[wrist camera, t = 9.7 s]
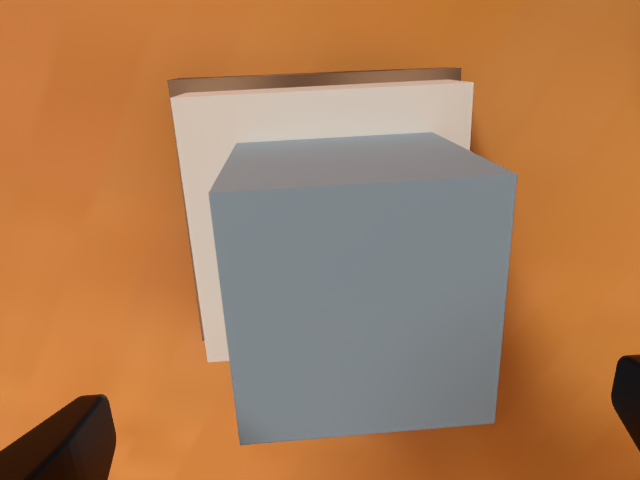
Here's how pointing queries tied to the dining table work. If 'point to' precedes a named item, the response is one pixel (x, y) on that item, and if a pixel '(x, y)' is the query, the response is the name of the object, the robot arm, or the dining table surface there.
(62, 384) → the dining table surface
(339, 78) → the tower bottom
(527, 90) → the dining table surface
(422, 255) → the slate block
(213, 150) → the tower top
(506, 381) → the dining table surface
